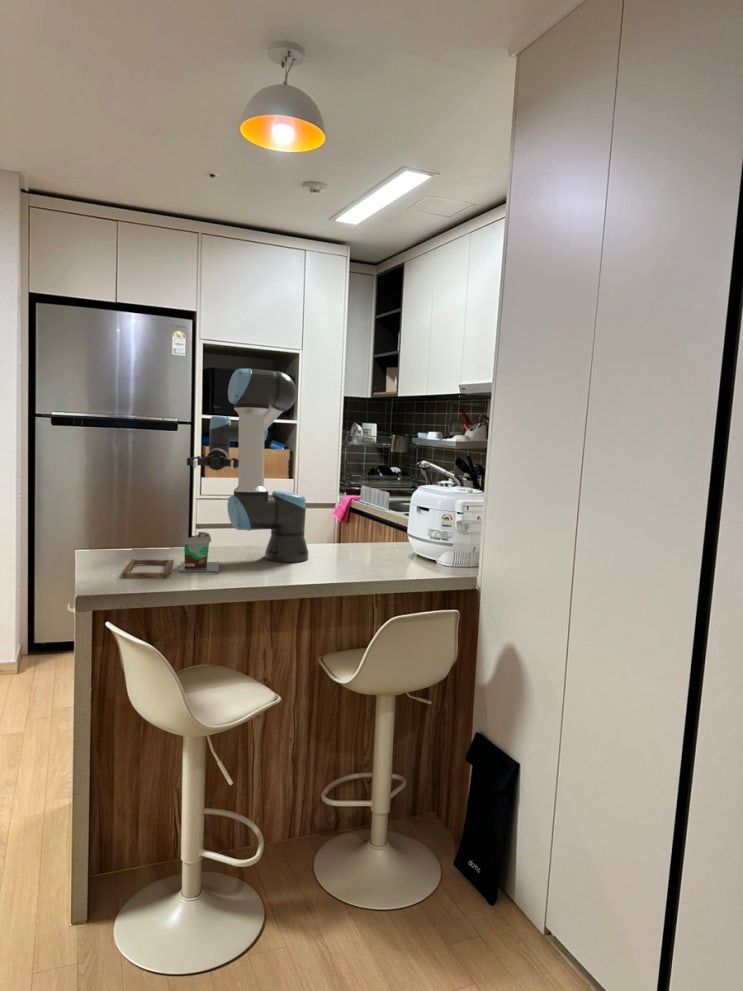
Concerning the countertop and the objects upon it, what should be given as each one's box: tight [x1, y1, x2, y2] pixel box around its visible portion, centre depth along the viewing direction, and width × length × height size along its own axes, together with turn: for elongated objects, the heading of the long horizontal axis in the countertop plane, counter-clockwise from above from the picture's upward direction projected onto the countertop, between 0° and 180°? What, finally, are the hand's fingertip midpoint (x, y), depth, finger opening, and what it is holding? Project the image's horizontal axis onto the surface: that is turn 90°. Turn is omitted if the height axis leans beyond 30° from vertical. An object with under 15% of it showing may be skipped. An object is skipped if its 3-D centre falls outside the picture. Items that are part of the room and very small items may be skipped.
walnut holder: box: [121, 558, 175, 579], centre depth 213 cm, size 13×19×2 cm
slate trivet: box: [177, 561, 220, 574], centre depth 219 cm, size 12×12×1 cm
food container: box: [182, 531, 212, 569], centre depth 218 cm, size 12×6×10 cm, turn 171°
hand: (213, 465), depth 234 cm, fingers open, 12 cm apart
